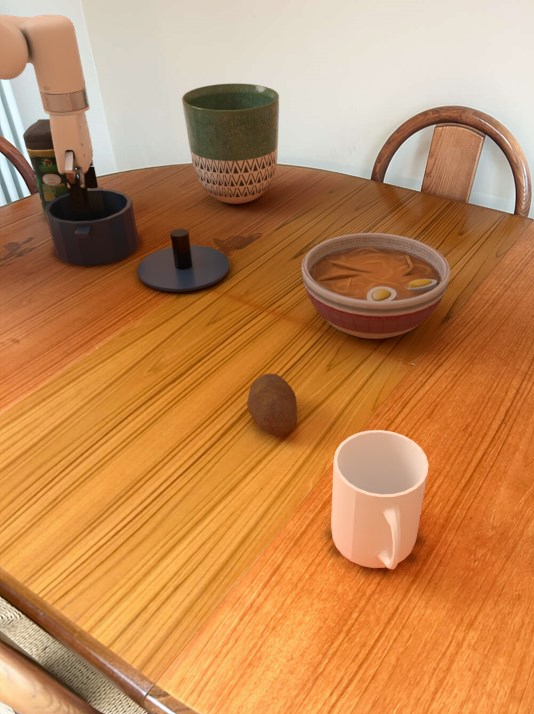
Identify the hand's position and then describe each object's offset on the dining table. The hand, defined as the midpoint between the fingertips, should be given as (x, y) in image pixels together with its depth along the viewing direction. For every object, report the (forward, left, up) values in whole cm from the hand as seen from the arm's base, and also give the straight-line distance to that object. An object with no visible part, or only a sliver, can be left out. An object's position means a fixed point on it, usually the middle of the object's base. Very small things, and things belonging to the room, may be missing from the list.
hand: (86, 198), depth 122 cm
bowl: (+48, -32, -10) cm, 59 cm away
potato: (+30, -55, -10) cm, 63 cm away
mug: (+40, -77, -10) cm, 87 cm away
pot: (0, 0, -10) cm, 10 cm away
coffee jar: (-9, +17, -10) cm, 22 cm away
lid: (+17, -12, -9) cm, 23 cm away
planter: (+28, +20, -10) cm, 36 cm away
